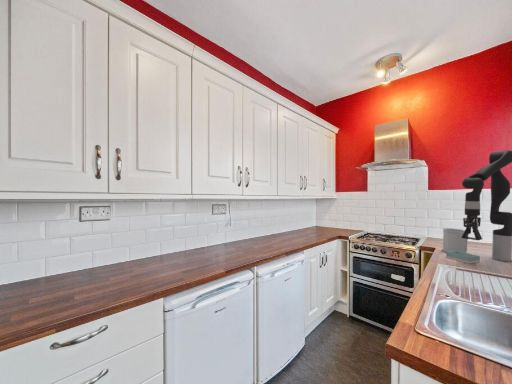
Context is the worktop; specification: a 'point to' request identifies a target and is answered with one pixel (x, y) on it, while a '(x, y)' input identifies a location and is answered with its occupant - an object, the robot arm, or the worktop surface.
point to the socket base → (463, 256)
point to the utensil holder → (454, 240)
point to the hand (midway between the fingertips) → (471, 233)
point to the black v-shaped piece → (476, 233)
